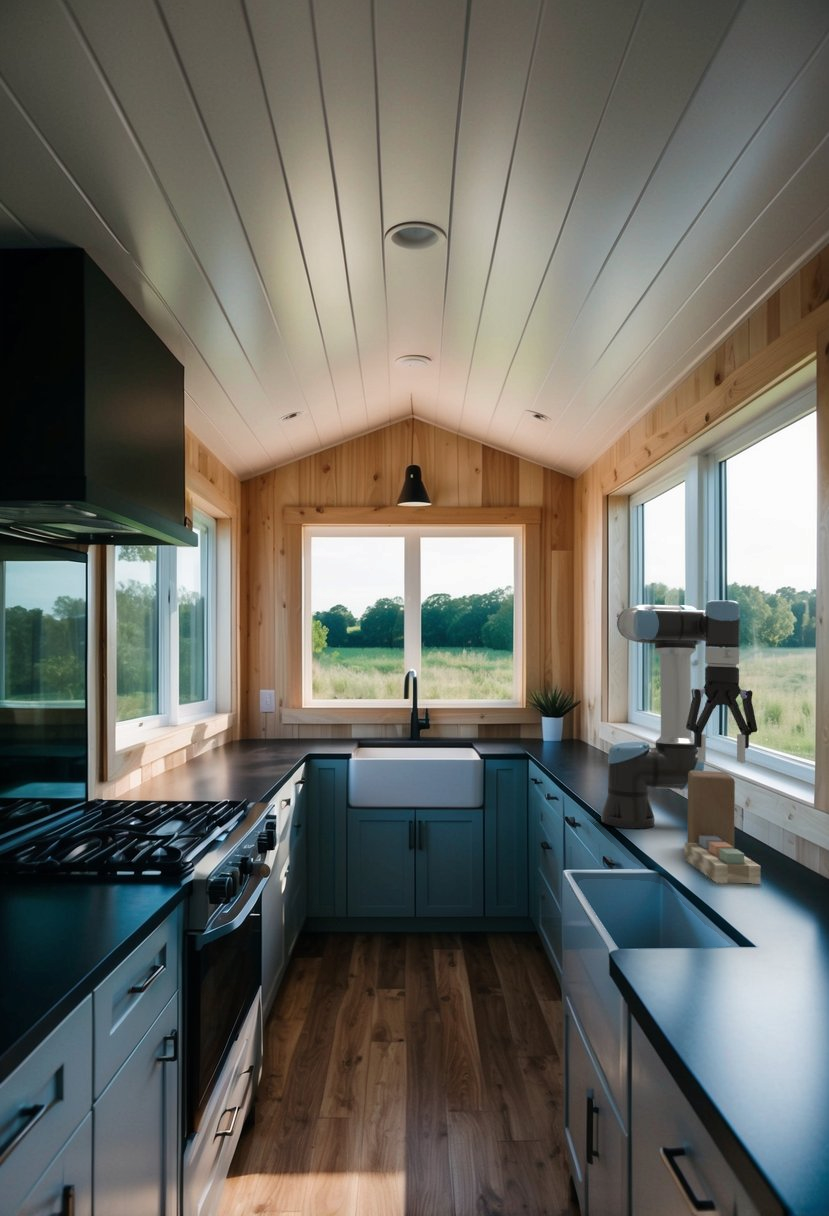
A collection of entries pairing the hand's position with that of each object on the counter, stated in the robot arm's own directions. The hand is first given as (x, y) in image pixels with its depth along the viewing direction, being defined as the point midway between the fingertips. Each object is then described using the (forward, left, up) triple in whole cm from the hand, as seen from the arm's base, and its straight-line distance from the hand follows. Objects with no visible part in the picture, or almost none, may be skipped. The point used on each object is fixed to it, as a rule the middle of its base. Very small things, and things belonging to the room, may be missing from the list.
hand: (721, 761), depth 184 cm
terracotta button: (0, 0, -23) cm, 23 cm away
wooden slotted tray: (0, 0, -25) cm, 25 cm away
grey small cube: (-6, 0, -23) cm, 24 cm away
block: (-16, +4, -26) cm, 31 cm away
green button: (+6, 0, -23) cm, 24 cm away
